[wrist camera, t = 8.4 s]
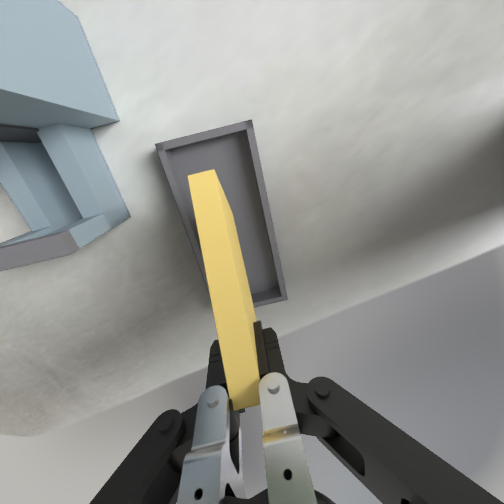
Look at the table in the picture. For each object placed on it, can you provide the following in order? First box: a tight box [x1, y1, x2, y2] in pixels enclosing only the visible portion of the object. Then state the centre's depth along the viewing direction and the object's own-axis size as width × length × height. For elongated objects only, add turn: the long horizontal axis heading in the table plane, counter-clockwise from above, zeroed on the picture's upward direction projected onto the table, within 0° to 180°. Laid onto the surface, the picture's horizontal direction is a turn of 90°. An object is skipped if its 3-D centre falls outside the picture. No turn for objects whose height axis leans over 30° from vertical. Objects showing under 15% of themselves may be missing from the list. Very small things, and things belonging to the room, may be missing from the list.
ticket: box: [188, 169, 261, 411], centre depth 14 cm, size 1×11×6 cm
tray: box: [155, 120, 288, 307], centre depth 20 cm, size 7×16×2 cm, turn 13°
